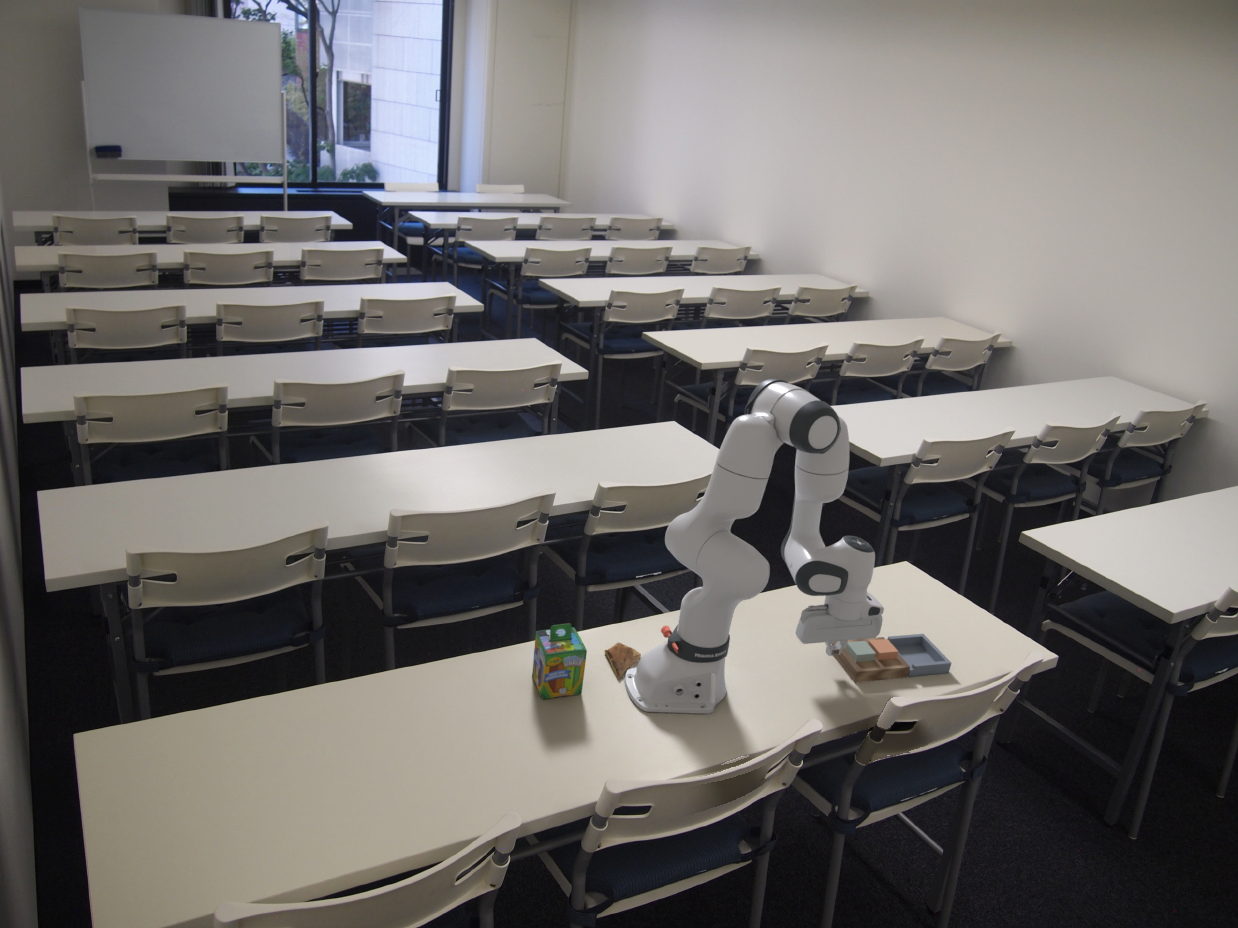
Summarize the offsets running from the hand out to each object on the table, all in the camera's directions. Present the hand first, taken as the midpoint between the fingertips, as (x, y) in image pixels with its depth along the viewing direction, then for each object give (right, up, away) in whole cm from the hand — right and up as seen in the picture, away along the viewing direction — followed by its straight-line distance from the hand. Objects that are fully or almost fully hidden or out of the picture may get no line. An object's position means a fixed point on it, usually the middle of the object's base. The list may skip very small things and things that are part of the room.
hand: (832, 653), depth 213 cm
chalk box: (-63, -4, -14) cm, 65 cm away
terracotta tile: (+13, -1, +4) cm, 13 cm away
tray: (+22, -3, +8) cm, 23 cm away
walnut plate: (+9, -3, +5) cm, 11 cm away
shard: (-48, -2, -4) cm, 48 cm away
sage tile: (+7, -1, +2) cm, 7 cm away
